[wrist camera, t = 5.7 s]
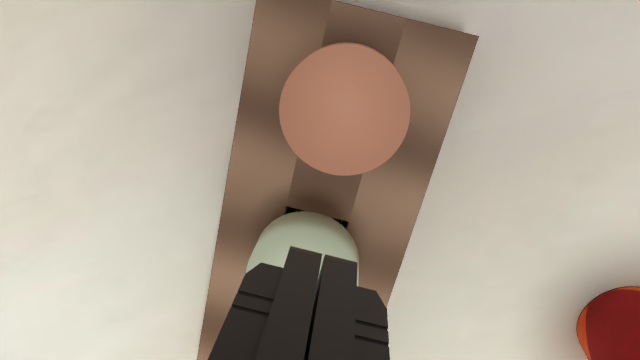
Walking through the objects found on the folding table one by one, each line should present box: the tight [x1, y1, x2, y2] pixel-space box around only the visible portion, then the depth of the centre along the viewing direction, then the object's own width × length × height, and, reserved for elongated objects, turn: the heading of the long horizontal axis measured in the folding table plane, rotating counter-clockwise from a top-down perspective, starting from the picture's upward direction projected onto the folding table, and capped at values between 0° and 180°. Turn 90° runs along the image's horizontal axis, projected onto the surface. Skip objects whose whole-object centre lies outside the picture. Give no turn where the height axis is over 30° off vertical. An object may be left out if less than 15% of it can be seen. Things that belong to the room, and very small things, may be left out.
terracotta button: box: [279, 42, 410, 176], centre depth 20 cm, size 5×5×5 cm
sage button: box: [246, 211, 359, 286], centre depth 23 cm, size 5×5×5 cm
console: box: [197, 0, 479, 360], centre depth 26 cm, size 24×10×3 cm, turn 167°
